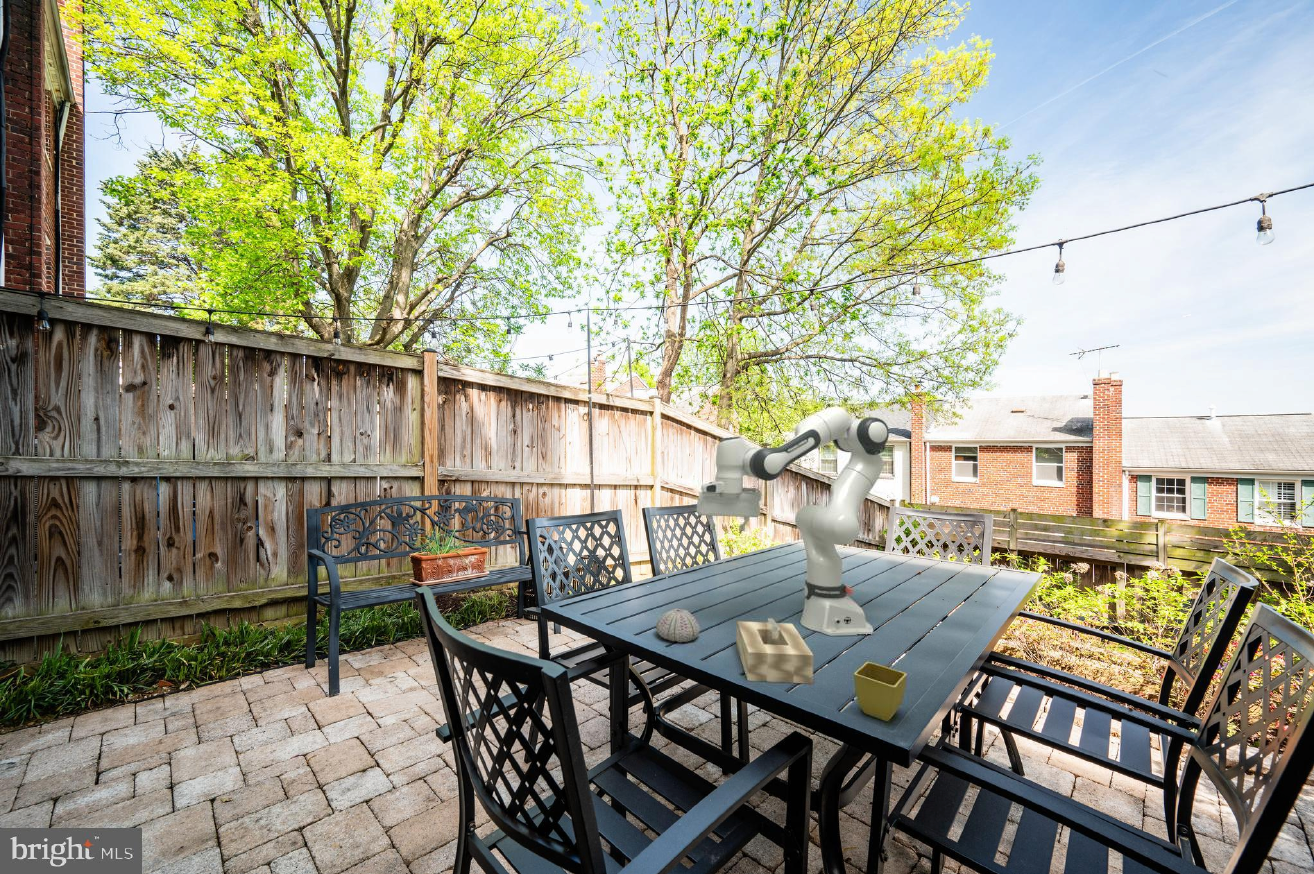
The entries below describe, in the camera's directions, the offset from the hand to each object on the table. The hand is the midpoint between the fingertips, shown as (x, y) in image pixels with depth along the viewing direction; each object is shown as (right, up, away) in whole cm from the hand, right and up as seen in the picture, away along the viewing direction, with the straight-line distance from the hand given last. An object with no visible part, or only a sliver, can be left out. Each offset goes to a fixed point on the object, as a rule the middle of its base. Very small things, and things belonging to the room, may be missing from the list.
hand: (727, 530), depth 162 cm
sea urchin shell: (-16, -31, -9) cm, 36 cm away
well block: (+8, -31, -26) cm, 41 cm away
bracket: (+8, -30, -26) cm, 40 cm away
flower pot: (+27, -32, -50) cm, 65 cm away
